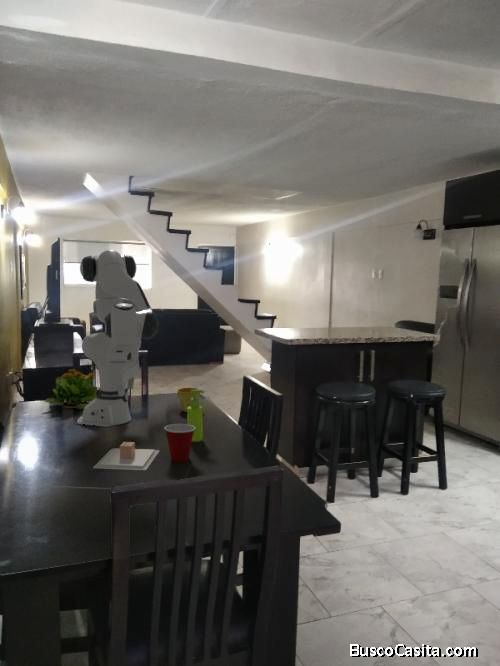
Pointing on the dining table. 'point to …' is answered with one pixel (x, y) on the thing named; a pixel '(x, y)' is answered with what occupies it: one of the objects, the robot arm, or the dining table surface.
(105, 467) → the mat
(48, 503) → the dining table surface
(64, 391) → the potted flower
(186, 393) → the plant pot
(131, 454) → the lid
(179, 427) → the plastic cup
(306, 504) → the dining table surface
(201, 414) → the soap dispenser
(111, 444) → the dining table surface
